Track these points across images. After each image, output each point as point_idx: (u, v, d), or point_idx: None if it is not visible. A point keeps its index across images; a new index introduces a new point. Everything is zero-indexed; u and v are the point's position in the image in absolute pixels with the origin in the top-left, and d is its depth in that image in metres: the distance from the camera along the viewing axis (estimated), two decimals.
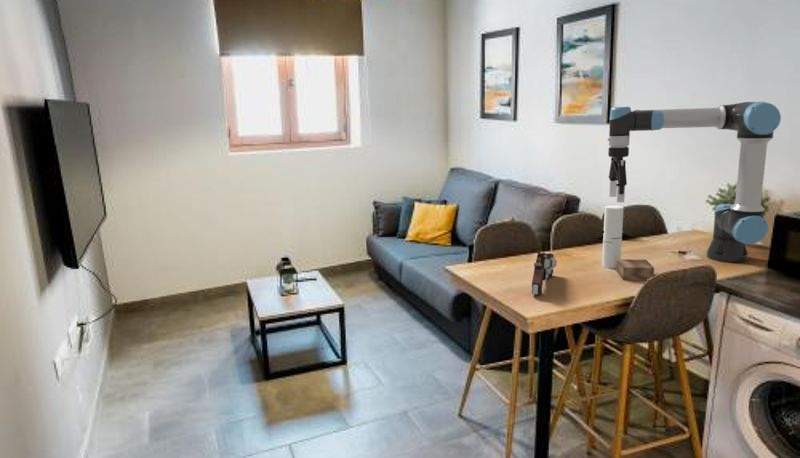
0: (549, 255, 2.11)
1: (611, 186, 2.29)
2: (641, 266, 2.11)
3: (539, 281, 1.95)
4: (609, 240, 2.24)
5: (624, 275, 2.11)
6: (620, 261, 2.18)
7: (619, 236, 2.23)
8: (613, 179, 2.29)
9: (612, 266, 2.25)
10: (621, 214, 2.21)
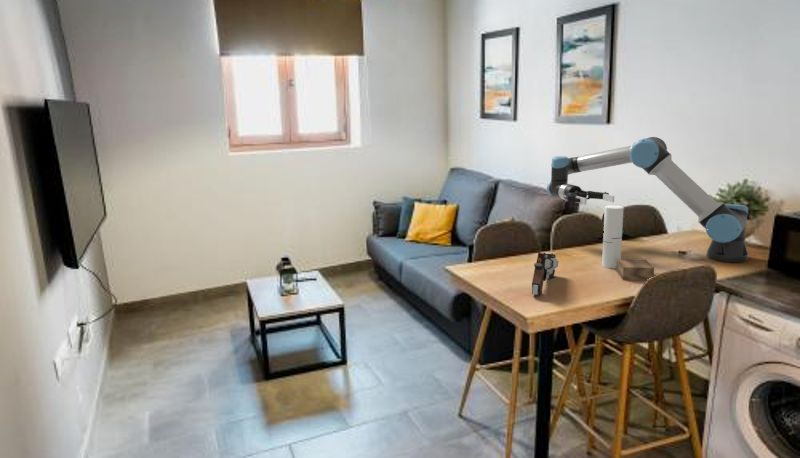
0: (550, 255, 2.10)
1: (606, 199, 2.38)
2: (641, 266, 2.11)
3: (539, 281, 1.95)
4: (609, 240, 2.24)
5: (624, 275, 2.11)
6: (620, 261, 2.18)
7: (619, 236, 2.23)
8: None
9: (612, 266, 2.25)
10: (621, 214, 2.21)
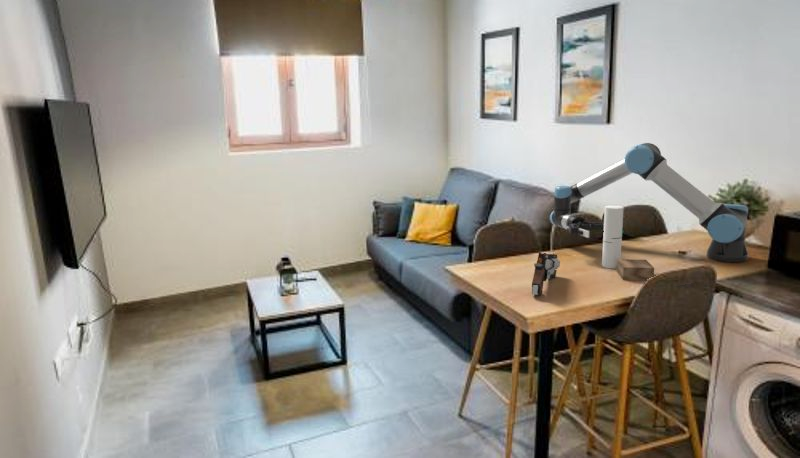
0: (551, 256, 2.10)
1: None
2: (641, 266, 2.11)
3: (539, 282, 1.95)
4: (609, 240, 2.24)
5: (624, 275, 2.11)
6: (620, 261, 2.18)
7: (619, 236, 2.23)
8: None
9: (612, 266, 2.25)
10: (621, 214, 2.21)
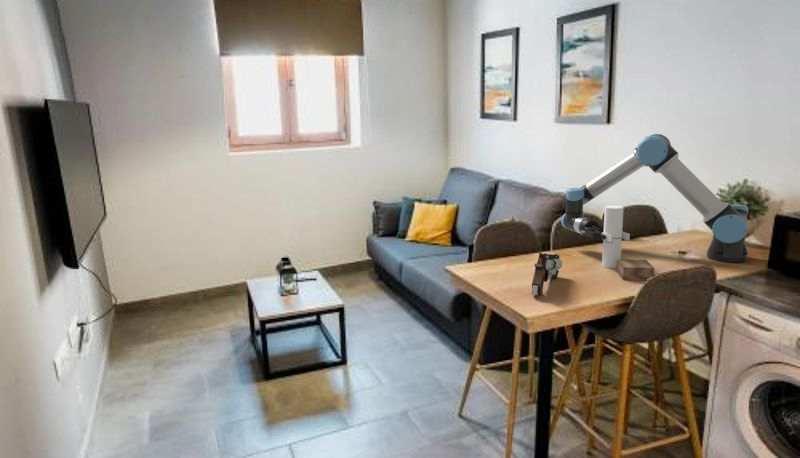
0: (553, 256, 2.09)
1: None
2: (641, 266, 2.11)
3: (539, 282, 1.95)
4: None
5: (624, 275, 2.11)
6: (620, 261, 2.18)
7: (619, 236, 2.23)
8: None
9: (612, 266, 2.25)
10: (621, 214, 2.21)
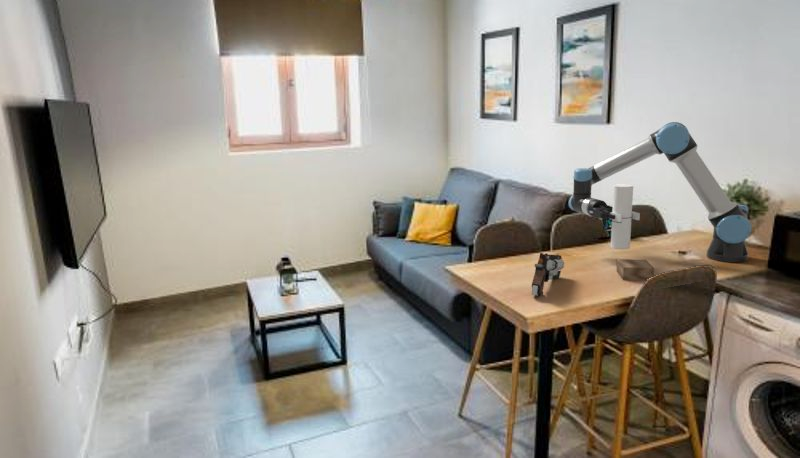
0: (554, 256, 2.09)
1: None
2: (641, 266, 2.11)
3: (539, 282, 1.94)
4: None
5: (624, 275, 2.11)
6: (620, 261, 2.18)
7: (628, 216, 2.15)
8: None
9: (621, 247, 2.17)
10: (631, 193, 2.13)
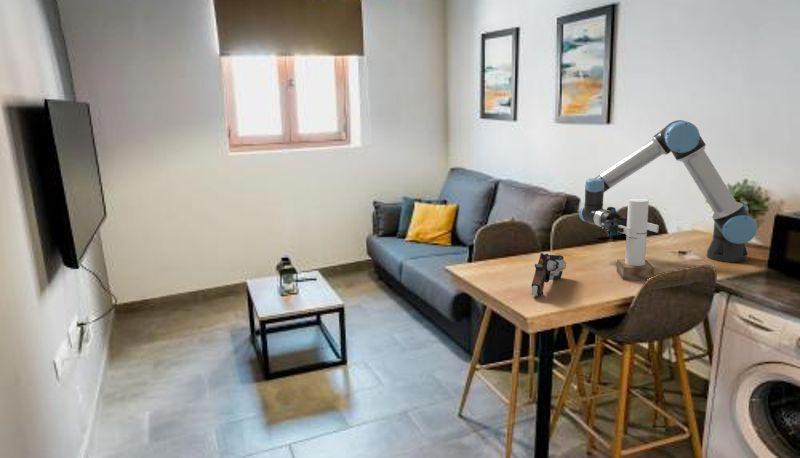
0: (556, 257, 2.08)
1: (648, 228, 2.14)
2: (641, 266, 2.11)
3: (539, 282, 1.94)
4: (633, 235, 2.09)
5: (624, 275, 2.11)
6: (620, 261, 2.18)
7: (644, 231, 2.09)
8: None
9: (636, 263, 2.11)
10: (646, 208, 2.07)
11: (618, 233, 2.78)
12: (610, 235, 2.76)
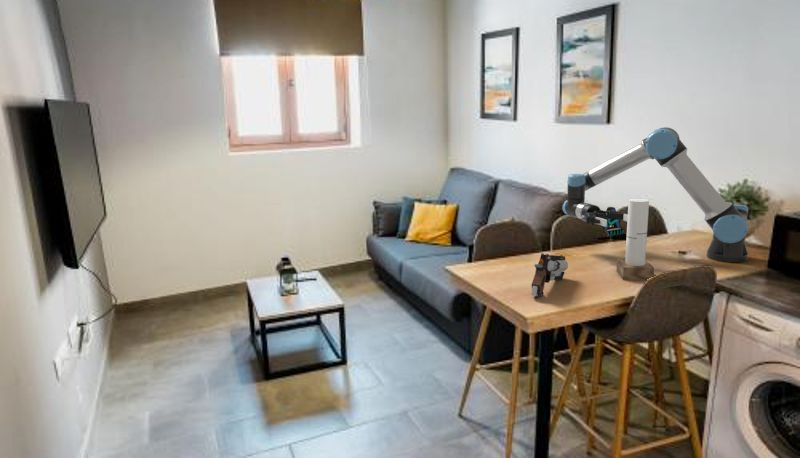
0: (557, 257, 2.08)
1: (626, 220, 2.27)
2: (641, 266, 2.11)
3: (539, 283, 1.94)
4: (633, 236, 2.09)
5: (624, 275, 2.11)
6: (620, 261, 2.18)
7: (644, 231, 2.08)
8: None
9: (636, 263, 2.11)
10: (647, 208, 2.07)
11: (618, 233, 2.78)
12: (610, 235, 2.76)
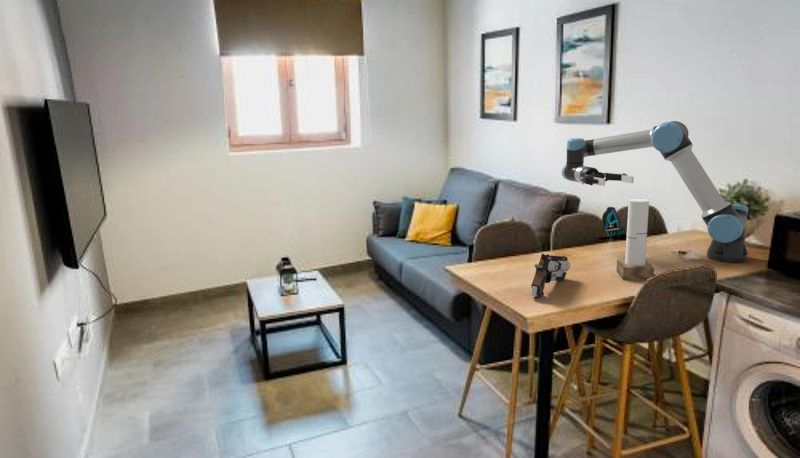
0: (558, 258, 2.07)
1: (624, 180, 2.30)
2: (641, 266, 2.11)
3: (539, 283, 1.93)
4: (633, 236, 2.09)
5: (624, 275, 2.11)
6: (620, 261, 2.18)
7: (644, 231, 2.08)
8: (622, 177, 2.32)
9: (636, 263, 2.11)
10: (647, 208, 2.07)
11: (618, 233, 2.78)
12: (610, 235, 2.76)
